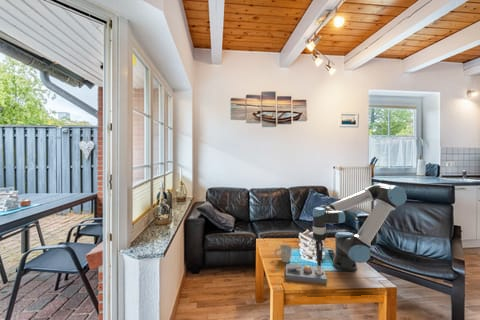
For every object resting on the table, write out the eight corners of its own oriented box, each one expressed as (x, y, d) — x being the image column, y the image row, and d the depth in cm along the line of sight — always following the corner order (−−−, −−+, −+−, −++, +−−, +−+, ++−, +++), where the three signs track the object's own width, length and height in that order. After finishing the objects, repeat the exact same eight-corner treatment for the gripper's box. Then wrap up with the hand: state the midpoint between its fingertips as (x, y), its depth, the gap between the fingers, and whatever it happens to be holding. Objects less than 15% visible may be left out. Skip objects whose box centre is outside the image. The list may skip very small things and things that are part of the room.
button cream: (322, 273, 145) (322, 268, 145) (323, 277, 141) (323, 272, 141) (315, 273, 146) (315, 268, 146) (316, 276, 142) (316, 271, 142)
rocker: (301, 264, 148) (300, 262, 148) (301, 268, 143) (300, 266, 143) (288, 266, 150) (288, 264, 150) (288, 269, 145) (288, 268, 145)
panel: (323, 272, 150) (323, 265, 149) (326, 284, 136) (326, 276, 136) (286, 268, 155) (286, 262, 155) (285, 279, 141) (285, 272, 141)
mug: (291, 263, 162) (291, 249, 161) (274, 262, 164) (274, 248, 164) (291, 258, 170) (291, 245, 170) (274, 257, 172) (274, 243, 172)
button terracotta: (310, 270, 147) (310, 265, 146) (311, 273, 142) (311, 268, 142) (304, 269, 147) (304, 264, 147) (304, 273, 143) (304, 268, 143)
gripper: (311, 228, 150) (311, 264, 151) (313, 235, 137) (313, 274, 138) (323, 229, 148) (323, 265, 149) (327, 236, 136) (327, 275, 136)
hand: (319, 269), depth 143 cm, fingers closed
